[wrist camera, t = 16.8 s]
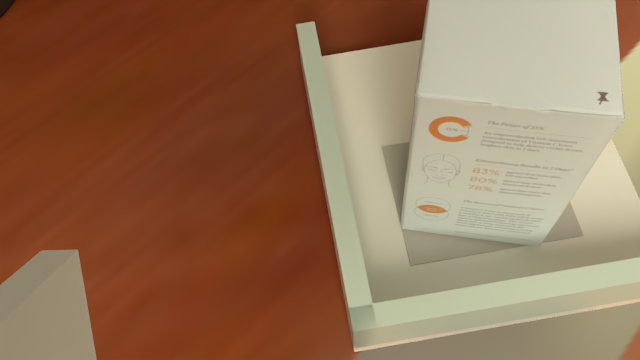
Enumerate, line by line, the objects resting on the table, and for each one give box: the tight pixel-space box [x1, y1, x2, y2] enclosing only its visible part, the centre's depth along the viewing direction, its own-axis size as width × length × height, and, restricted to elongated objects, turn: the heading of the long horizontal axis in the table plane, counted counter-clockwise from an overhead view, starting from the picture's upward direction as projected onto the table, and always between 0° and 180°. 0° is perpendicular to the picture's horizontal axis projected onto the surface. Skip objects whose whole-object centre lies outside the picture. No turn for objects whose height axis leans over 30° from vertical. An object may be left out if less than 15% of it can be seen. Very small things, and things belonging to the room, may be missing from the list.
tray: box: [296, 21, 640, 352], centre depth 36 cm, size 20×18×4 cm
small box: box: [401, 0, 625, 246], centre depth 31 cm, size 8×6×13 cm
